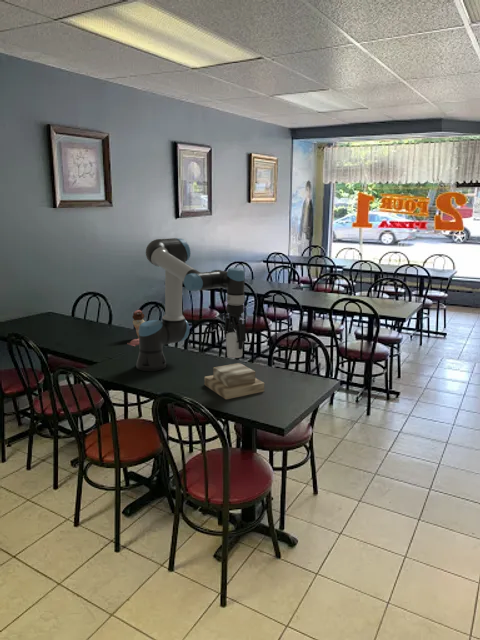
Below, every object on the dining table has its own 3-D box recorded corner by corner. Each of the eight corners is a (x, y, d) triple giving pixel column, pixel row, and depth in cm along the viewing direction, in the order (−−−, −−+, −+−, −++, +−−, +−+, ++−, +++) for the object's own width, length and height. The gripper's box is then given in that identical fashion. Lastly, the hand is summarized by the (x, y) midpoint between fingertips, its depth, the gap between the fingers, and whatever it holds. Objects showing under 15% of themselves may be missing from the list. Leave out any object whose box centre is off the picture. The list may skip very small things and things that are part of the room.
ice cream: (141, 336, 313) (140, 308, 309) (156, 341, 301) (156, 312, 297) (118, 340, 302) (117, 311, 298) (132, 346, 290) (131, 316, 286)
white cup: (245, 354, 229) (245, 333, 226) (240, 359, 221) (241, 337, 219) (228, 352, 231) (229, 331, 228) (223, 357, 223) (223, 335, 221)
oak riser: (204, 384, 233) (204, 366, 231) (241, 377, 243) (241, 360, 241) (225, 399, 216) (226, 379, 214) (264, 391, 226) (264, 372, 224)
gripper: (216, 300, 227) (216, 348, 232) (240, 308, 210) (239, 360, 215) (231, 299, 231) (230, 346, 236) (255, 307, 214) (253, 358, 219)
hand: (234, 353), depth 226 cm, fingers closed on white cup, 8 cm apart
